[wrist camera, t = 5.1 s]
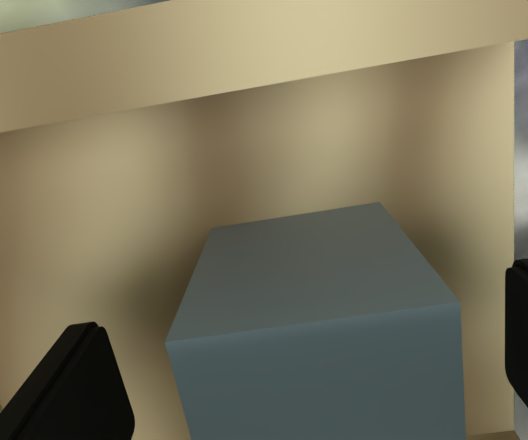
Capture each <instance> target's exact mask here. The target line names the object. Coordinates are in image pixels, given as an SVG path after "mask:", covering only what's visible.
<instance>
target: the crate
mask: <svg viewBox="0 0 528 440" xmlns="http://www.w3.org/2000/svg"><path fill="white" fill-rule="evenodd" d="M524 39H528V0H170V1H165V2H160V3H155V4H150V5H145V6H140V7H135V8H129V9H124V10H119V11H114V12H109V13H104V14H99V15H93V16H88V17H83V18H78V19H73V20H68V21H63V22H58V23H52V24H47V25H42V26H37V27H32V28H27V29H22V30H17V31H11V32H6V33H1V34H0V413H1V411H2V410H3V409H4V408H5V406H6V405H7V404H8V402H9V401H10V400H11V399H12V397H13V396H14V395H15V393H16V392H17V391H18V390H19V388H20V387H21V386H22V384H23V383H24V382H25V380H26V379H27V378H28V377H29V375H30V374H31V373H32V371H33V370H34V369H35V368H36V366H37V365H38V364H39V362H40V361H41V360H42V359H43V357H44V356H45V355H46V353H47V352H48V351H49V350H50V348H51V347H52V346H53V344H54V343H55V342H56V341H57V339H58V338H59V337H60V335H61V334H62V333H63V332H64V330H65V329H66V328H67V327H68V326H69V325H72V324H79V323H86V322H93V321H94V322H96V323H97V324H98V326H99V327H100V326H103V327H104V328H105V329H106V331H107V334H108V337H109V340H110V343H111V346H112V349H113V352H114V355H115V358H116V361H117V364H118V367H119V370H120V373H121V376H122V379H123V383H124V386H125V389H126V392H127V395H128V398H129V401H130V404H131V407H132V410H133V413H134V417H135V429H134V433H133V436H132V439H131V440H191V436H190V433H189V429H188V425H187V422H186V418H185V414H184V411H183V407H182V403H181V400H180V396H179V393H178V389H177V385H176V382H175V378H174V374H173V371H172V367H171V363H170V360H169V356H168V352H167V349H166V345H165V341H166V338H167V336H168V333H169V331H170V328H171V326H172V323H173V321H174V319H175V316H176V314H177V311H178V309H179V306H180V304H181V302H182V299H183V297H184V294H185V292H186V289H187V287H188V284H189V282H190V280H191V277H192V275H193V272H194V270H195V267H196V265H197V263H198V260H199V258H200V255H201V253H202V250H203V248H204V245H205V243H206V241H207V238H208V236H209V233H210V231H211V228H215V227H221V226H228V225H234V224H241V223H247V222H254V221H260V220H267V219H273V218H279V217H286V216H292V215H299V214H305V213H312V212H318V211H325V210H331V209H338V208H344V207H351V206H357V205H363V204H370V203H376V202H380V203H381V204H382V205H383V207H384V208H385V209H386V210H387V212H388V213H389V214H390V215H391V217H392V218H393V219H394V220H395V222H396V223H397V224H398V225H399V227H400V228H401V229H402V230H403V231H404V233H405V234H406V235H407V236H408V238H409V239H410V240H411V241H412V243H413V244H414V245H415V246H416V248H417V249H418V250H419V251H420V253H421V254H422V255H423V256H424V257H425V259H426V260H427V261H428V262H429V264H430V265H431V266H432V267H433V269H434V270H435V271H436V272H437V274H438V275H439V276H440V277H441V279H442V280H443V281H444V282H445V284H446V285H447V286H448V287H449V288H450V290H451V291H452V292H453V293H454V295H455V296H456V297H457V298H458V300H459V301H460V303H461V327H462V352H463V377H464V402H465V426H466V440H520V439H519V437H518V436H517V434H516V433H515V431H514V388H513V387H512V386H511V384H510V383H509V381H508V379H507V376H506V372H505V272H506V269H507V268H510V267H512V265H513V262H514V41H518V40H524Z"/></svg>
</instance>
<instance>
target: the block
mask: <svg viewBox="0 0 528 440" xmlns="http://www.w3.org/2000/svg"><path fill="white" fill-rule="evenodd" d="M165 345H166V349H167V352H168V356H169V360H170V363H171V367H172V371H173V374H174V378H175V382H176V385H177V389H178V393H179V396H180V400H181V403H182V407H183V411H184V414H185V418H186V422H187V425H188V429H189V433H190V436H191V440H466V426H465V402H464V377H463V352H462V327H461V303H460V301H459V300H458V298H457V297H456V296H455V295H454V293H453V292H452V291H451V290H450V288H449V287H448V286H447V285H446V284H445V282H444V281H443V280H442V279H441V277H440V276H439V275H438V274H437V272H436V271H435V270H434V269H433V267H432V266H431V265H430V264H429V262H428V261H427V260H426V259H425V257H424V256H423V255H422V254H421V253H420V251H419V250H418V249H417V248H416V246H415V245H414V244H413V243H412V241H411V240H410V239H409V238H408V236H407V235H406V234H405V233H404V231H403V230H402V229H401V228H400V227H399V225H398V224H397V223H396V222H395V220H394V219H393V218H392V217H391V215H390V214H389V213H388V212H387V210H386V209H385V208H384V207H383V205H382V204H381V203H380V202H376V203H370V204H363V205H357V206H351V207H344V208H338V209H331V210H325V211H318V212H312V213H305V214H299V215H292V216H286V217H279V218H273V219H267V220H260V221H254V222H247V223H241V224H234V225H228V226H221V227H215V228H211V231H210V233H209V236H208V238H207V241H206V243H205V245H204V248H203V250H202V253H201V255H200V258H199V260H198V263H197V265H196V267H195V270H194V272H193V275H192V277H191V280H190V282H189V284H188V287H187V289H186V292H185V294H184V297H183V299H182V302H181V304H180V306H179V309H178V311H177V314H176V316H175V319H174V321H173V323H172V326H171V328H170V331H169V333H168V336H167V338H166V341H165Z"/></svg>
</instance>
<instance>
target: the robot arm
mask: <svg viewBox="0 0 528 440" xmlns="http://www.w3.org/2000/svg"><path fill="white" fill-rule="evenodd" d="M505 372H506V376H507V379H508V381H509V383H510V384H511V386H512V387H513V388H514V390H515V391H516V392H517V394H518V395H519V396H520V398H521V399H522V400H523V402H524V403H525V404H526V406H527V407H528V258H527V259H520V260H515V261H514V262H513V265H512V267H510V268H507V269H506V272H505ZM134 429H135V417H134V413H133V410H132V407H131V404H130V401H129V398H128V395H127V392H126V389H125V386H124V383H123V379H122V376H121V373H120V370H119V367H118V364H117V361H116V358H115V355H114V352H113V349H112V346H111V343H110V340H109V337H108V334H107V331H106V329H105V328H104V327H103V326H100V327H99V326H98V324H97V323H96V322H94V321H93V322H86V323H79V324H72V325H69V326H68V327H67V328H66V329H65V330H64V332H63V333H62V334H61V335H60V337H59V338H58V339H57V341H56V342H55V343H54V344H53V346H52V347H51V348H50V350H49V351H48V352H47V353H46V355H45V356H44V357H43V359H42V360H41V361H40V362H39V364H38V365H37V366H36V368H35V369H34V370H33V371H32V373H31V374H30V375H29V377H28V378H27V379H26V380H25V382H24V383H23V384H22V386H21V387H20V388H19V390H18V391H17V392H16V393H15V395H14V396H13V397H12V399H11V400H10V401H9V402H8V404H7V405H6V406H5V408H4V409H3V410H2V411H1V413H0V440H131V439H132V436H133V433H134Z"/></svg>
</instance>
